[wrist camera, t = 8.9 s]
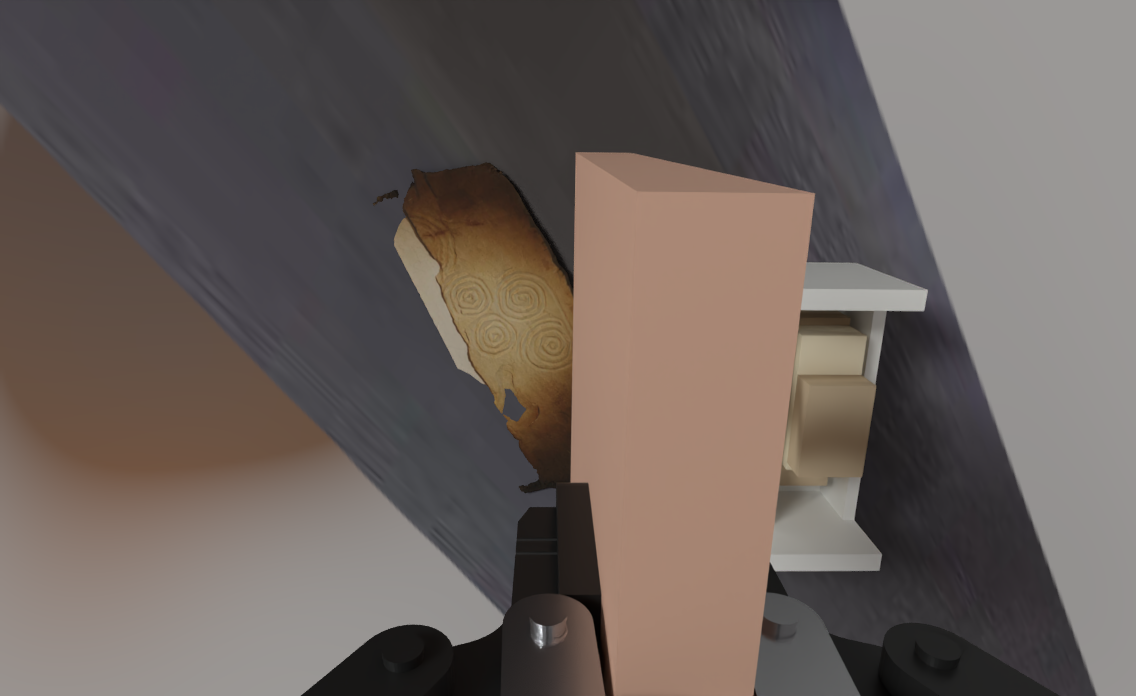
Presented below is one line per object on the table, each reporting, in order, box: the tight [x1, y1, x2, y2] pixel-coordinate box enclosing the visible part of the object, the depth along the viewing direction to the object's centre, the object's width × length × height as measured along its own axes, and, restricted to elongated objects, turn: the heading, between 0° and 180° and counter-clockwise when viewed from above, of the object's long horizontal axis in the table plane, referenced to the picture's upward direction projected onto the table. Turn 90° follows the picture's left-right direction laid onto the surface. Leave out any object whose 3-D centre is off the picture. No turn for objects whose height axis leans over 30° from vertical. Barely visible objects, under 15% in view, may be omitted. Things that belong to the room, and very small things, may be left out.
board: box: [571, 152, 815, 696], centre depth 15 cm, size 14×2×14 cm, turn 179°
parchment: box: [373, 163, 574, 493], centre depth 46 cm, size 25×10×1 cm, turn 23°
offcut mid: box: [782, 325, 867, 470], centre depth 43 cm, size 9×4×2 cm, turn 179°
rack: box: [770, 262, 928, 571], centre depth 44 cm, size 18×10×9 cm, turn 179°
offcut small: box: [787, 375, 876, 477], centre depth 41 cm, size 6×4×2 cm, turn 179°
